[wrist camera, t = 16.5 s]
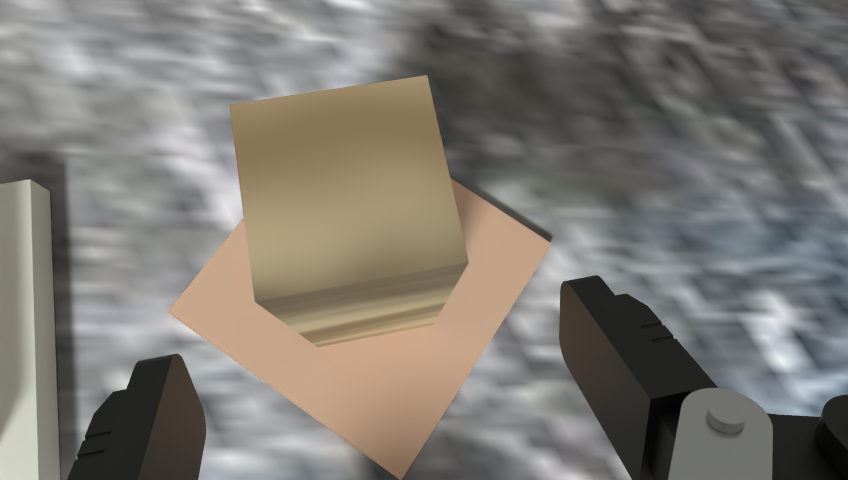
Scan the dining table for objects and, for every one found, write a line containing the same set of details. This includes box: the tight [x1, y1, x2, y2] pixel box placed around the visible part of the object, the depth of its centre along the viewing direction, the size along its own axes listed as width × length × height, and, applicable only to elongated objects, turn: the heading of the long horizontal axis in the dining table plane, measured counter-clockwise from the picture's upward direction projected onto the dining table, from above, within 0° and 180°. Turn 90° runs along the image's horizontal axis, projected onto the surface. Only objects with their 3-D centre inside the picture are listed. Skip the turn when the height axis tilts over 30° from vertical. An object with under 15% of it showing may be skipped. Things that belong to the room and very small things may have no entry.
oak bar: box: [229, 75, 469, 347], centre depth 20 cm, size 5×5×12 cm
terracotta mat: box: [168, 178, 552, 480], centre depth 26 cm, size 12×12×1 cm
